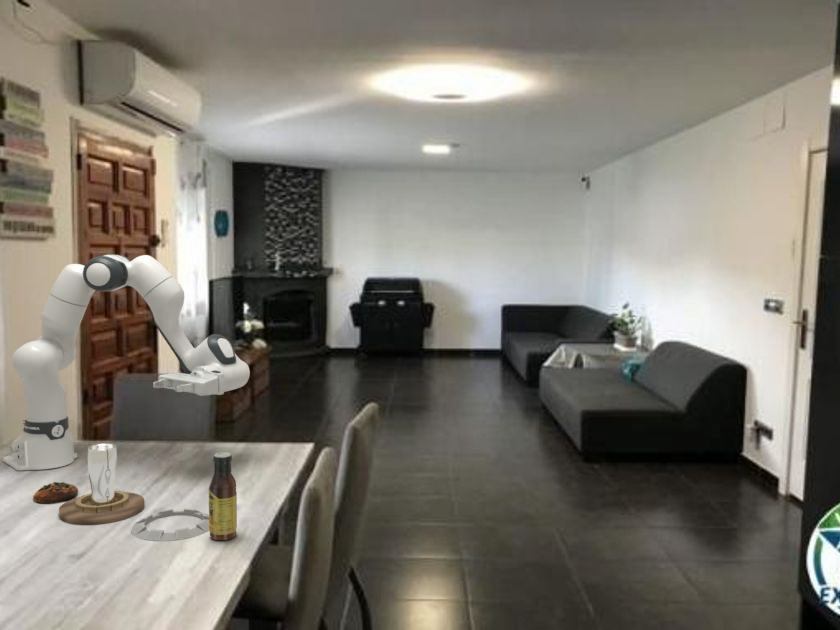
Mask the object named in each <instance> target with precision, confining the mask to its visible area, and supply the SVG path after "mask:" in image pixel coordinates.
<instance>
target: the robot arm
mask: <svg viewBox="0 0 840 630" xmlns="http://www.w3.org/2000/svg"><path fill="white" fill-rule="evenodd" d="M127 287H131V288H133V289H134V290H135V291H136V292H137V293H138V294H139V295H140V296H141V297H142V298H143V300H144V301H145V303H147V305H148V307H149V308H150V311H151V313H152V316H153V322H154V325H155V326H156V328H157V330H158V332H159V333H160V334H161V336H162V339H164V340H165V342H166V344H167V345H168V347H169V348H170V350H171V351H172V353H173V354H174V355H175V357H176V359H177V361H178V362H179V364H180V366H181V368H182V371H183V372H174V373H165V374H160V375H158V377H157V381H154V382H153V383H152V384H153V385H152V387H153V388H154V389H161V388H162V389H163V388H164V389H169V390H174V392H176V393H182V392H185V393H190V394H195V395H197V396H200V397H203V396H210V395H215V396H220V395H221V396H222V395H224V394H225V392H229V391H234V390H237V389H239V388H242V387H244V386H245V385H246V384H247V383H248V381H249V378H250V376H251V375H250V373H251V371H250V367H249V365H248V364H247V363H246V361H243V360H242V359H240V357H239V356H238V355H237V354H236V352H235V349H234V346H233V344H232V342H231V341H230V339H228V337H226V336H223V335H222V334H218V333H217V334H216V333H215V334H214V333H213V334H210V335H209V336H207V337H206V338H205V339H204V340H203V341H202V342H200V343H199V344H198V345H197V346H196V347H194V346H193V345H192V343H191V342H190V340H189V339H188V338H187V336H186V334H185V332H184V331H183V330H182V328H181V326H180V315H181V311H182V308H183V306H184V302H185V292H184V289H183V287H182V285H181V284H180V283H179V281H178V280H177V279H176V278H175V277H174V276H173V274H171V272H170V271H169V270H168V269H167V268H166V267H165V266H164V265H163V264H161V263H160V262H159V261H158V260H157V259H155V258H154V257H153V256H151V255H149V254H143V255H139V256H137V257H135V258H134V259H132V260H131V259H130V258H128V256H127V257H126V256H125V255H122V254H103V255H98V256H95V257H93V258H91V259H90V260H88V261H87V262H86V263H85V265H83V264H80V263H69V264H67V265H66V266H64V267H63V268H62V270H61V272H60V273H59V275H58V276H57V278H56V280H55V281H54V283H53V285H52V287H51V289H50V292H49V294H48V297H47V299H46V302H45V304H44V306H43V309H42V311H41V313H40V320H41V331H40V334H39V337H38V338H37V339H36V340H32V341H29V342H26V343H24V344H22V345H21V346H20V347H19V348H17V349H16V350H15V351H14V352H13V354H12V357H11V365H12V368H13V370H14V372H15V373H16V374H18V376H19V378H20V380H21V383H22V387H23V390H24V394H25V407H26V409H25V411H26V419H24V420H22V422H23V423H22V424H23V429H22V432H21V433H20V435H18V437H16V438H15V439H14V440H13V441H12V442H11V445H10V447H9V450H10V453H11V454H8V455H7V456H4V457H3V458H2V461H3V462H4V463H5V464H7V465H9V467H11V468H12V469H14V470H16V471H30V470H31V471H35V470H36V471H37V470H49V469H50V470H51V469H56V468H61V467H64V466H65V467H66V466H68V465H70V464H72V463H73V462H75V459H77V458H78V453H76V452H75V450H74V442H73V433H72V432H71V431H70V430H69V427H70V425H69V424H70V421H69V416H67V415H68V408H67V392H66V390H65V388H63V386H62V383H61V379H60V376H59V371H62V370H64V369H66V368H68V367H69V366H70V365H71V364H72V363H73V362H74V360H75V359H76V356H77V348H76V344H77V337H78V333H79V329H80V326H81V323H82V320H83V319H84V315H85V313H86V310H87V308H88V305H89V304H90V301H91V298H92V296H93V294H94V293H95V292H96V291H97V292H103V293H105V292H107V293H108V292H115V291H118V290H120V289H124V288H127Z"/></svg>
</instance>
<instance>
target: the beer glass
mask: <svg viewBox="0 0 840 630" xmlns="http://www.w3.org/2000/svg"><path fill="white" fill-rule="evenodd" d="M86 462H87V474H88V479H89V484H90V488H91V493H92V495H91V501H90V505H91V506H100V505H108V504H112V503H115V502H116V498H115V494H114V491H115V484H116V477H117V471H118V453H117V445H116V444H114V443H98V444H97V443H95V444H91V445H90V446H88V448H87V461H86Z"/></svg>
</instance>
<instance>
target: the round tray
mask: <svg viewBox="0 0 840 630" xmlns="http://www.w3.org/2000/svg"><path fill="white" fill-rule="evenodd" d="M114 494H115V498H116V502H115V503H112V504H108V505H100V506H91V505H90V501H91V495H92V492H90V493H87V494H84V495H81V496H76V497H74V499H72V500H69V501H65V502H63V504H61V505H60V506H59V508H58V517H59V519H60V520H61V521H62V522H64V523H67V524H71V525H79V526H80V525H81V526H82V525H83V526H92V525H93V526H94V525H103V524H104V525H105V524H110V523H115V522H119V521H120V522H121V521H122V520H123V521H124V520H127V519H130V518H132V517H134V516H136V515H138V514H140V513H141V512H142V511H143V510H144V509H145V507H146V506H145V498H144V497H143V496H142V495H141V494H138V493H135V492H129V491H120V490H114Z"/></svg>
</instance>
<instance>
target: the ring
mask: <svg viewBox="0 0 840 630" xmlns="http://www.w3.org/2000/svg"><path fill="white" fill-rule="evenodd" d="M174 516H188V517H189V516H190V517H195V518H198V519H200V522H198V523H196V525H195V527H193V528H190V529H189V527H183V528H177V529H175V530H174V532H165V531H164V529H155V528H152V529H150V530H149V529H147V525H148V524H149V523H151V522H153V521H155V520H156V521H157V520H158V519H161V518H167V517H174ZM130 530H131V531H130V532H131V534H132V536H134V537H135V538H137V539H141V540H145V541H148V542H149V541H150V542H175V541H182V540H187V539H191V538H195V537H197V536H201V535H203V534H205V533H207V532H210V531H209V513H205V512H202V511H199V510H196V509H191V508H184V509H183V510H176V511H175V510H174V509H173V508H171V509H166V510H165V509H164V510H160V511H159V512H158V513H156V514H149V515H147V516H145V517H144V518H141V519H140V520H138V521H136V522H135V523H134V524H133V525H132V526H131V528H130Z"/></svg>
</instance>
